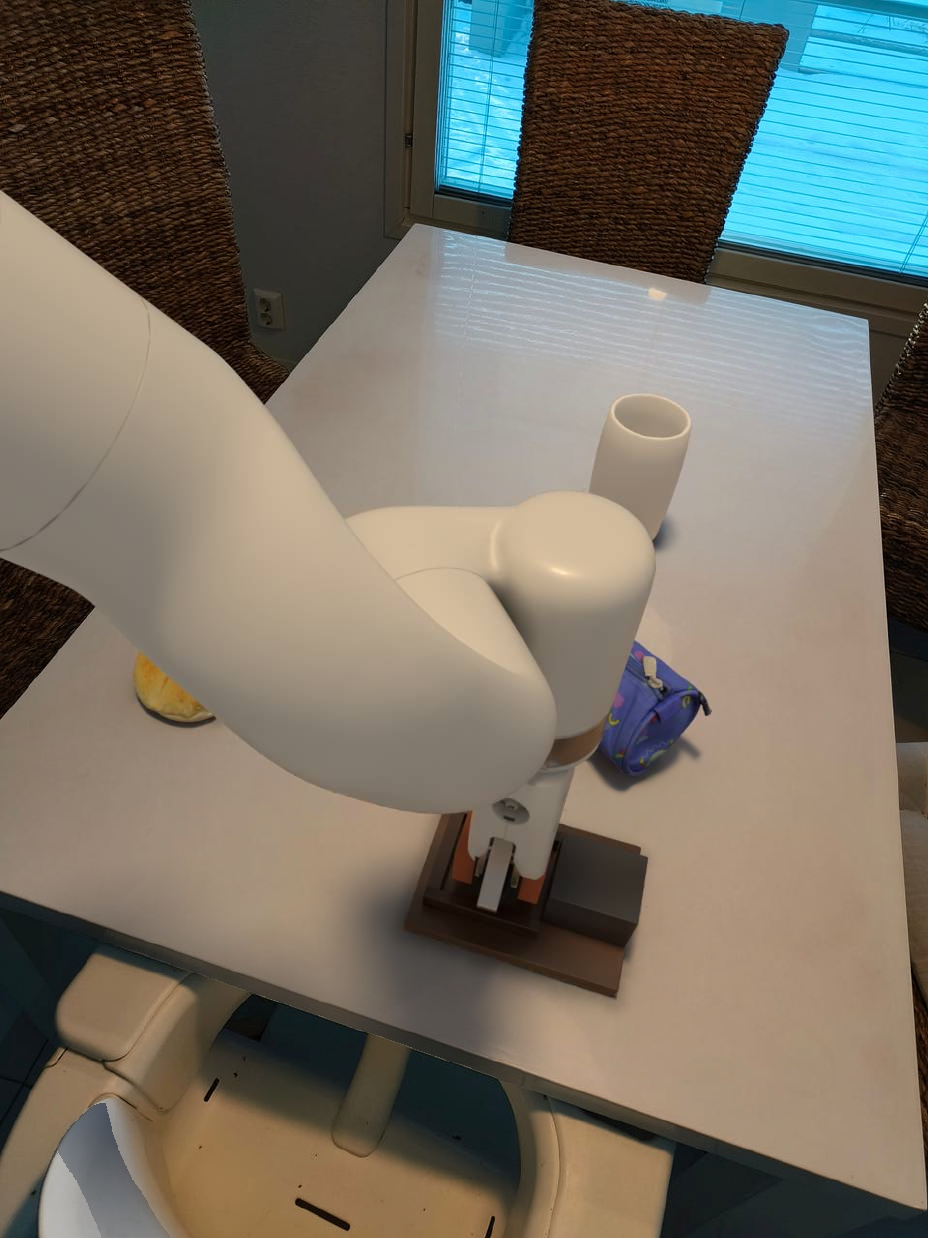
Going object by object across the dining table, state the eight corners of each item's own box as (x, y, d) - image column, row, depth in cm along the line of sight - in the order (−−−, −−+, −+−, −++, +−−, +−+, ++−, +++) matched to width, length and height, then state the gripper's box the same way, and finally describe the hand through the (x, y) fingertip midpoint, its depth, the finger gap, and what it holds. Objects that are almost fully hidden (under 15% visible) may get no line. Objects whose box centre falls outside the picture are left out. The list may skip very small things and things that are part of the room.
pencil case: (695, 751, 71) (729, 680, 64) (622, 803, 67) (651, 733, 60) (526, 594, 82) (540, 518, 75) (455, 630, 78) (463, 554, 72)
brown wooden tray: (614, 997, 57) (631, 968, 53) (403, 930, 59) (404, 897, 55) (637, 854, 64) (654, 819, 61) (449, 798, 66) (453, 761, 63)
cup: (590, 495, 94) (617, 382, 83) (665, 517, 92) (702, 404, 82) (570, 543, 88) (596, 428, 78) (650, 566, 86) (687, 452, 76)
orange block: (536, 905, 57) (544, 878, 55) (451, 878, 58) (455, 851, 55) (551, 840, 61) (560, 812, 58) (471, 816, 62) (476, 787, 59)
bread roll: (184, 631, 76) (176, 600, 73) (261, 677, 73) (256, 646, 70) (112, 690, 71) (101, 660, 68) (192, 742, 68) (184, 712, 65)
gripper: (577, 858, 40) (528, 995, 53) (631, 610, 51) (579, 773, 65) (425, 813, 41) (414, 958, 54) (511, 579, 52) (484, 746, 66)
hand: (504, 856), depth 59 cm, fingers closed on orange block, 5 cm apart
